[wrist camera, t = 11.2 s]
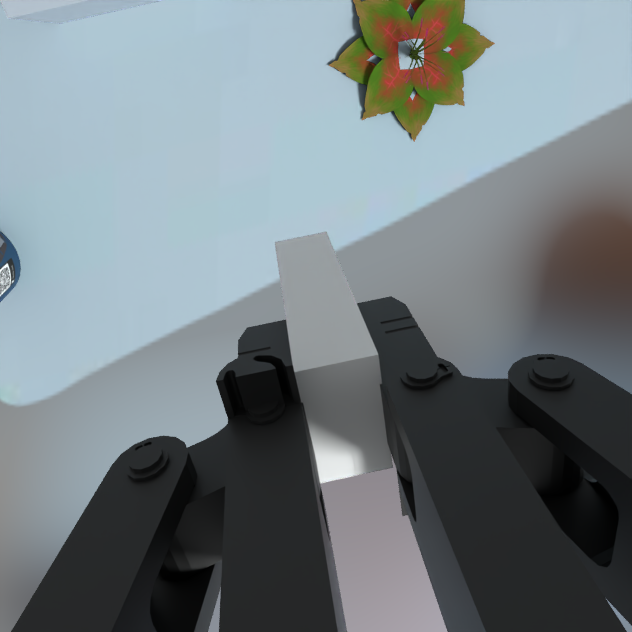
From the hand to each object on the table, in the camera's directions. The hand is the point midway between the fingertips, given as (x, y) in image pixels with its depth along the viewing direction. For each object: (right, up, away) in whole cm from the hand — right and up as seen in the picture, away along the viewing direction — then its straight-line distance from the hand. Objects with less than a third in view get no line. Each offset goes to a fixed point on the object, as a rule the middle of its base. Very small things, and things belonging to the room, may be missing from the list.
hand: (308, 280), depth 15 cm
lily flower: (+7, +19, +24) cm, 32 cm away
